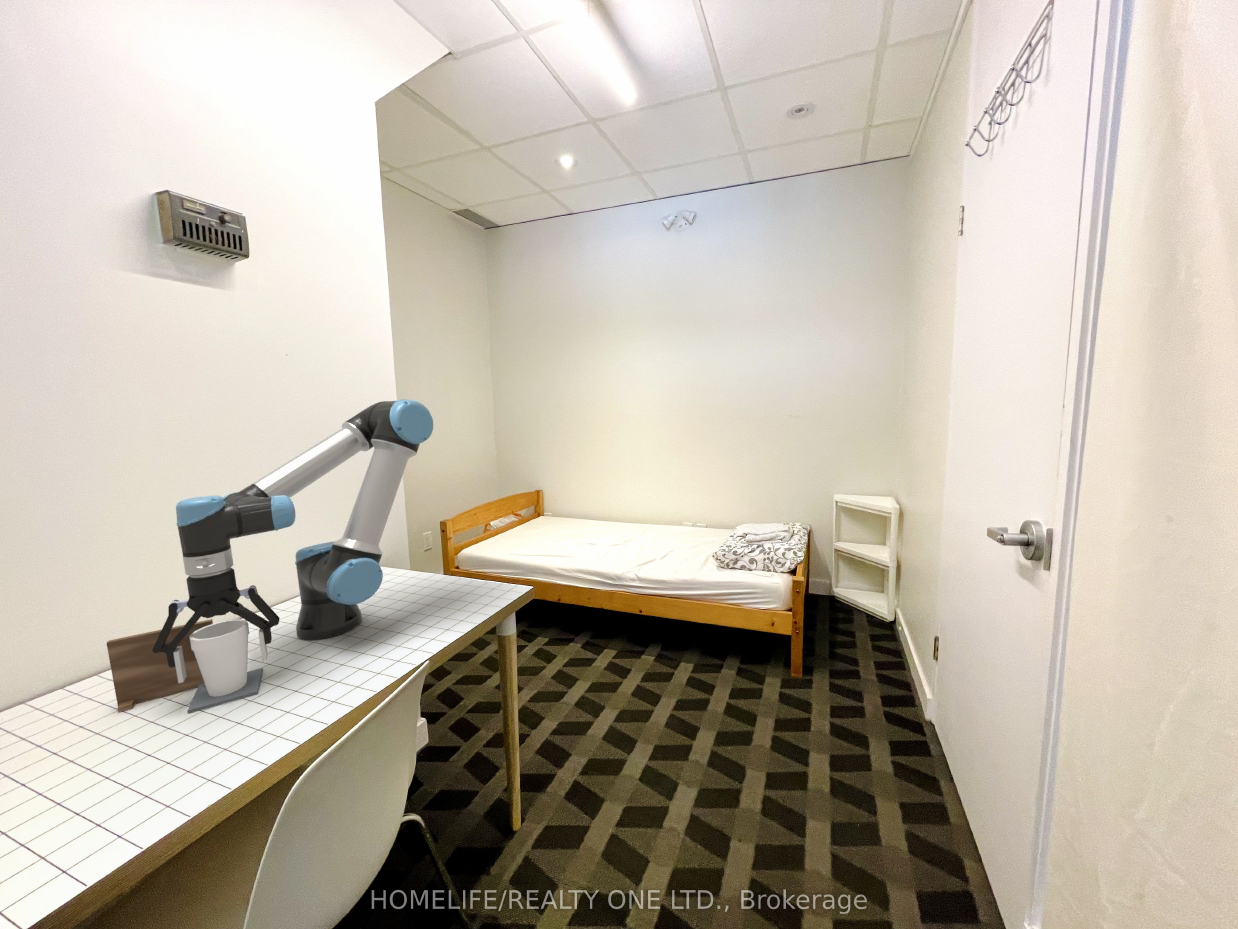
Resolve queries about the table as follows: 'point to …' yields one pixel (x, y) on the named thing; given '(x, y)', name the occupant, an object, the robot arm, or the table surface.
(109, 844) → the table surface
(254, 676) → the mat
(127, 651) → the screen
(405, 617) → the table surface
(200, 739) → the table surface
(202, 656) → the foam cup
